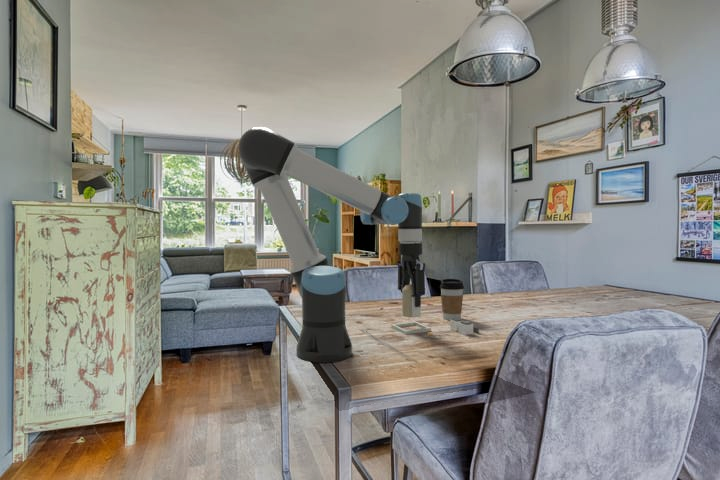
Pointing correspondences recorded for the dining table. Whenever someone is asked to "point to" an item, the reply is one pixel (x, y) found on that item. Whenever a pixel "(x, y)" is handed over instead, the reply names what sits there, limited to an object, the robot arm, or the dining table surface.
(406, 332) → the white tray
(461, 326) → the knob
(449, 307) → the coffee cup
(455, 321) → the knob
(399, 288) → the robot arm
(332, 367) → the dining table surface
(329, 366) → the dining table surface
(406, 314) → the beige bottle
